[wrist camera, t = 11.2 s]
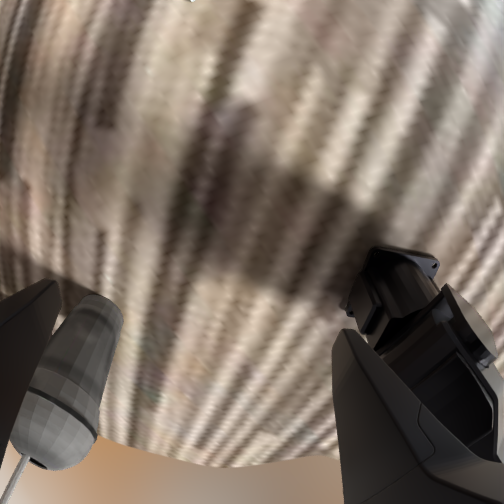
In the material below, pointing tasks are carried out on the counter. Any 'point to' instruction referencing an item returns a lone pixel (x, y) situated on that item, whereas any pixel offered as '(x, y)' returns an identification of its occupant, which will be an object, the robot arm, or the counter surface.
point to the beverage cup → (67, 390)
